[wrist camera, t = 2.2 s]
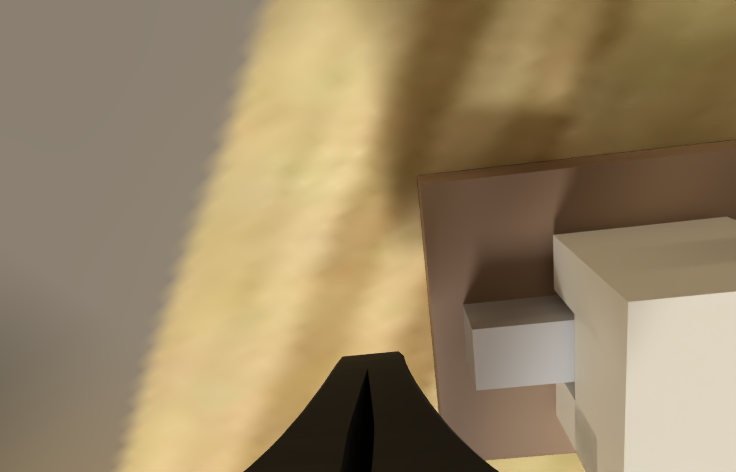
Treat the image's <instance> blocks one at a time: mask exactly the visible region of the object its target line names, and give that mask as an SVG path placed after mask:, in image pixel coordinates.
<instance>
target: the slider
mask: <svg viewBox="0 0 736 472" xmlns="http://www.w3.org/2000/svg"><path fill="white" fill-rule="evenodd" d="M553 261H554V290H555V291H556V292H557V294H558V295H559V296H560V297H561V298H562V300H563V301H564V302H565V303H566V304H567V306H568V307H569V308H570V309H571V310H572V312H573V313H574V316H575V382H566V383H556V415H557V417H558V419H559V421H560V423H561V425H562V427H563V429H564V431H565V433H566V434H567V436H568V438H569V440H570V442H571V444H572V446H573V448H574V450H575V451H576V453H577V455H578V457H579V459H580V461H581V463H582V465H583V467H584V469H585V470H586V472H736V220H734V219H732V218H729V217H718V218H709V219H699V220H690V221H680V222H671V223H661V224H652V225H642V226H633V227H623V228H614V229H604V230H595V231H585V232H576V233H566V234H557V235H553Z"/></svg>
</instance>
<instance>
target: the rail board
mask: <svg viewBox="0 0 736 472" xmlns="http://www.w3.org/2000/svg"><path fill="white" fill-rule="evenodd" d="M417 184H418V194H419V205H420V216H421V227H422V237H423V248H424V259H425V270H426V281H427V291H428V302H429V313H430V324H431V334H432V345H433V356H434V367H435V377H436V388H437V399H438V410H439V415H440V416H441V417H442V418H443V420H444V421H445V422H446V423H447V424H448V425H449V427H450V428H451V429H452V430H453V431H454V432H455V433H456V434H457V435H458V436H459V437H460V438H461V439H462V440H463V441H464V442H465V443H466V444H467V445H468V446H469V447H470V448H471V449H472V450H473V451H474V452H475V453H477V454H478V455H479V456H480V457H481V458H482V459H483V460H494V459H506V458H518V457H530V456H543V455H555V454H567V453H576V451H575V450H574V448H573V446H572V444H571V442H570V440H569V438H568V436H567V434H566V433H565V431H564V429H563V427H562V425H561V423H560V421H559V419H558V417H557V415H556V383H566V382H575V316H574V313H573V312H572V310H571V309H570V308H569V307H568V306H567V304H566V303H565V302H564V301H563V300H562V298H561V297H560V296H559V295H558V294H557V292H556V291H555V290H554V261H553V235H557V234H566V233H576V232H585V231H595V230H604V229H614V228H623V227H633V226H642V225H652V224H661V223H671V222H680V221H690V220H699V219H709V218H718V217H729V218H732V219H734V220H736V140H729V141H720V142H711V143H702V144H694V145H685V146H676V147H667V148H658V149H649V150H641V151H632V152H623V153H614V154H605V155H596V156H588V157H579V158H570V159H561V160H552V161H543V162H535V163H526V164H517V165H508V166H499V167H490V168H482V169H473V170H464V171H455V172H446V173H437V174H429V175H420V176H417Z"/></svg>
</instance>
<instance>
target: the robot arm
mask: <svg viewBox="0 0 736 472" xmlns="http://www.w3.org/2000/svg"><path fill="white" fill-rule="evenodd" d="M244 472H498V471H497V470H496V469H494V468H493V467H492V466H490V465H489V464H488V463H487V462H486V461H485V460H483V459H482V458H481V457H480V456H479V455H478V454H477V453H475V452H474V451H473V450H472V449H471V448H470V447H469V446H468V445H467V444H466V443H465V442H464V441H463V440H462V439H461V438H460V437H459V436H458V435H457V434H456V433H455V432H454V431H453V430H452V429H451V428H450V427H449V425H448V424H447V423H446V422H445V421H444V420H443V418H442V417H441V416H440V415H439V414H438V412H437V411H436V410H435V409H434V407H433V406H432V405H431V403H430V402H429V401H428V399H427V398H426V396H425V395H424V394H423V392H422V391H421V389H420V388H419V386H418V385H417V383H416V382H415V380H414V378H413V376H412V375H411V373H410V371H409V369H408V367H407V365H406V362H405V359H404V356H403V355H402V354H401V353H400V352H398V351H397V352H387V353H376V354H366V355H355V356H345V357H342V358H341V359H340V360H339V362H338V363H337V364H336V366H335V367H334V369H333V370H332V372H331V373H330V375H329V376H328V378H327V379H326V381H325V382H324V384H323V385H322V386H321V388H320V389H319V391H318V392H317V393H316V395H315V396H314V397H313V398H312V400H311V401H310V402H309V404H308V405H307V406H306V408H305V409H304V410H303V412H302V413H301V414H300V415H299V416H298V418H297V419H296V420H295V421H294V422H293V423H292V424H291V426H290V427H289V428H288V429H287V430H286V431H285V433H284V434H283V435H282V436H281V437H280V438H279V439H278V440H277V441H276V442H275V443H274V444H273V445H272V446H271V447H270V448H269V449H268V450H267V451H266V452H265V453H264V454H263V455H262V456H261V457H260V458H259V459H258V460H256V461H255V462H254V463H253V464H252V465H251V466H250V467H249V468H247V469H246V470H245V471H244Z"/></svg>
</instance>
